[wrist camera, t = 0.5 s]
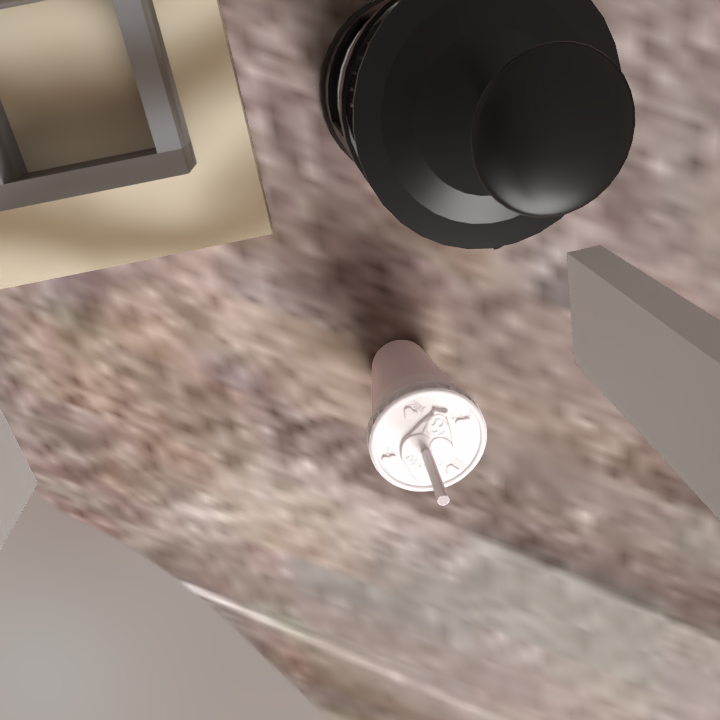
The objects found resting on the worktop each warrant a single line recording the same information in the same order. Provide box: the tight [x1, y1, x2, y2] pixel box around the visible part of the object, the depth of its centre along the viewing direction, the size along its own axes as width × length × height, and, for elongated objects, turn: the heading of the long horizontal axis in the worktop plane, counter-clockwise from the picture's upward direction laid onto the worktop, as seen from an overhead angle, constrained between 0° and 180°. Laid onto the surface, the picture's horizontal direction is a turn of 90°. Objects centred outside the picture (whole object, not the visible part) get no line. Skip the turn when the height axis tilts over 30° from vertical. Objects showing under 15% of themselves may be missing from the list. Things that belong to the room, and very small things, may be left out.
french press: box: [320, 0, 635, 249], centre depth 27 cm, size 12×9×23 cm
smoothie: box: [366, 340, 487, 505], centre depth 38 cm, size 6×6×14 cm
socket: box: [0, 0, 273, 289], centre depth 33 cm, size 19×16×5 cm
